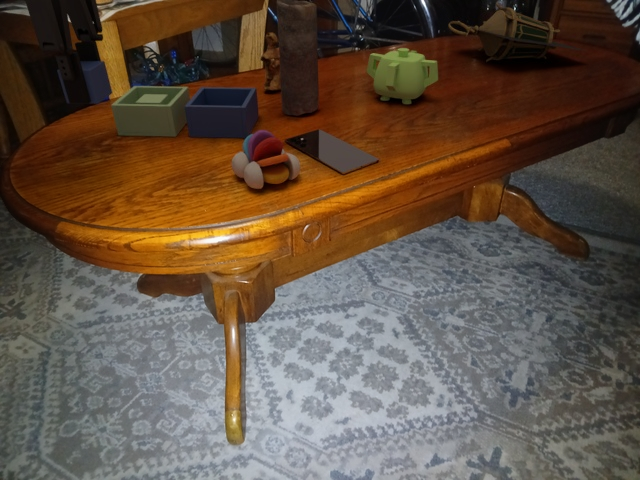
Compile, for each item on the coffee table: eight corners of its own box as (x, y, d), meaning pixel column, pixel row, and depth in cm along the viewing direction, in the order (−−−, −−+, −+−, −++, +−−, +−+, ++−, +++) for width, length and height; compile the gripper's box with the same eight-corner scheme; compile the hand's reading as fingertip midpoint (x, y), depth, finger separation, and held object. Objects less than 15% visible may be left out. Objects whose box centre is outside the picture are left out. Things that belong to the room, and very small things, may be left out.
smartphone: (342, 172, 78) (283, 138, 88) (342, 176, 78) (283, 141, 89) (379, 159, 82) (319, 127, 92) (379, 162, 82) (319, 130, 92)
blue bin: (189, 137, 91) (184, 106, 88) (204, 115, 100) (200, 86, 96) (248, 138, 90) (245, 107, 87) (258, 116, 99) (256, 87, 96)
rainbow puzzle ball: (256, 198, 72) (252, 151, 68) (227, 173, 79) (221, 128, 75) (307, 182, 76) (306, 136, 72) (275, 159, 83) (272, 116, 79)
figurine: (291, 91, 111) (288, 33, 105) (267, 95, 109) (263, 36, 102) (281, 85, 115) (278, 28, 108) (258, 89, 112) (253, 32, 106)
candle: (283, 103, 105) (278, -4, 93) (319, 103, 104) (318, -4, 93) (280, 117, 98) (273, 4, 87) (318, 117, 98) (316, 4, 87)
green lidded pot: (437, 103, 104) (444, 53, 99) (386, 109, 101) (389, 58, 96) (411, 86, 113) (415, 39, 108) (363, 91, 110) (365, 44, 105)
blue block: (66, 103, 70) (56, 70, 67) (82, 92, 74) (73, 60, 71) (98, 103, 69) (89, 70, 67) (112, 93, 73) (104, 60, 71)
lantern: (576, 82, 127) (483, 61, 114) (512, 67, 146) (426, 48, 133) (599, 24, 121) (504, -5, 109) (529, 16, 140) (442, -9, 127)
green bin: (118, 135, 92) (110, 105, 89) (140, 114, 101) (133, 85, 97) (176, 136, 91) (170, 106, 88) (192, 115, 100) (188, 86, 97)
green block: (140, 126, 94) (135, 102, 91) (149, 117, 97) (144, 94, 95) (164, 126, 93) (159, 102, 91) (172, 117, 97) (168, 94, 95)
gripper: (21, -107, 51) (85, 119, 64) (100, -107, 65) (139, 77, 78) (-50, -105, 51) (28, 118, 64) (44, -106, 66) (92, 76, 79)
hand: (89, 95), depth 71 cm, fingers closed on blue block, 4 cm apart
